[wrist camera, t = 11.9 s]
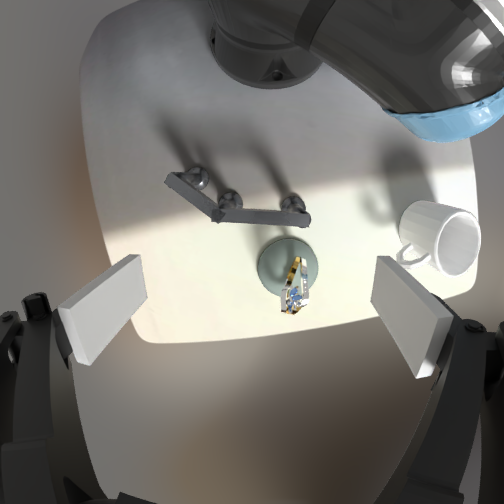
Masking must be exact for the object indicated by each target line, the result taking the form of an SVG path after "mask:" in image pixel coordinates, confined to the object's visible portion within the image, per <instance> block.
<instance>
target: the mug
mask: <svg viewBox="0 0 504 504" xmlns="http://www.w3.org/2000/svg"><path fill="white" fill-rule="evenodd" d="M399 236H400V240H401V243H402V245H403V246H404V247H403V248H402V249H401V250H400V251H399V252H398V253H397V254H396V257H397V263H398V264H399V265H400V266H402V267H403V268H404V269H413V268H416V267H420V266H422V265H423V264H425V263H427V264H428V265H430V266H431V267H433V268H434V269H436V270H437V271H439V272H440V273H442V274H443V275H445V276H447V277H452V278H454V277H458V276H461V275H463V274H464V273H466V272H467V271H468V270H469V269H470V268H471V266H472V265H473V264H474V262H475V260H476V258H477V256H478V253H479V249H480V243H481V233H480V226H479V224H478V222H477V219H476V218H475V217H474V216H473V214H472V213H471V212H468V211H466V210H463V209H459V208H455V207H451V206H447V205H443V204H439V203H435V202H430V201H426V200H422V201H416V202H414V203H412V204H411V205H410V206H409V207H408V208H407V209H406V210H405V211H404V213H403V215H402V217H401V220H400V224H399ZM408 252H410V253H411V254H412V255H414V256H416V257H417V258H418V259H415V260H413V261H406V260H404V256H405V255H406V254H407V253H408Z"/></svg>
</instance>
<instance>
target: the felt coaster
mask: <svg viewBox="0 0 504 504" xmlns="http://www.w3.org/2000/svg"><path fill="white" fill-rule="evenodd" d="M296 256H299V257H302V258H305V260H306V265H307V276H308V289H309V288H310V287H311V286H312V285H313V284H314V282H315V280H316V278H317V275H318V261H317V258H316V256H315V254H314V252H313V251H312V250H311V248H310V247H309V246H308V245H306V244H305V243H303V242H301V241H298V240H294V239H284V240H279V241H277V242H274V243H273V244H271V245H270V246H269V247H267V248H266V249H265V251H264V252H263V253H262V255H261V257H260V260H259V265H258V274H259V278H260V280H261V282H262V284H263V286H264V287H265V288H266V289H267V290H268V291H269V292H271V293H273V294H275V295H277V296H281V291H282V289H283V286H284V283H285V279H286V275H287V272H288V271H289V269H290V267H291V264H292V262H293V260H294V258H295V257H296ZM292 285H293V287H296V286H299V288H300V290H299V291H298V292H297V293H299V294H302V288H301V275H300V264H299V266H298V268H297V271H296V273H295V276H294V279H293V283H292ZM290 290H291V289H289V293H290Z"/></svg>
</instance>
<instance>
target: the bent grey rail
mask: <svg viewBox="0 0 504 504" xmlns="http://www.w3.org/2000/svg"><path fill="white" fill-rule="evenodd" d="M208 182H209V176H208V173H207V172H206V170H204V169H203V168H199V167H195V168H192V169H190V170H189V171H188V172H171V173H170V174H169V175H168V176H167V178H166V180H165V181H164V183H165V184H166V185H168V187H170V188H172V189H173V190H174V191H176V192H177V193H178V194H180V195H181V196H182V197H184V198H185V199H186V200H188V201H189V202H190V203H191V204H193V205H194V206H195V207H197V208H198V209H199V210H201V211H202V212H203V213H205V214H206V215H207V216H209V217H210V218H211V222H216V223H218V224H219V223H220V222H231V223H249V224H267V225H283V226H298V227H300V228H306V227H309V225H310V223H311V216H310V214H309V213H307V212H306V211H305V210H306V207H305V204H304V202H303V201H302V200H301V199H300V198H298V197H295V196H292V197H288V198H287V199H285V200H284V202H283V204H282V211H277V210H261V209H242V207H243V201H242V199H241V197H240V196H239V195H238V194H236V193H227V194H224V195H223V196H222V197H221V198H220V201H219V204H217V203H215V202H214V201H213V200H211V199H210V198H209V197H207V196H206V195H205V194H203V193H202V192H201V191H199V190H202V189H204V188H205V187H206V186H207V184H208Z"/></svg>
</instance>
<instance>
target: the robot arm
mask: <svg viewBox="0 0 504 504" xmlns="http://www.w3.org/2000/svg"><path fill="white" fill-rule="evenodd" d="M208 2H209V5H210V7H211V9H212V12H213V14H214V17H215V21H214V24H213V27H212V31H211V37H210V43H211V49H212V52H213V54H214V57H215V59H216V61H217V63H218V64H219V66H220V67H221V69H222V70H223V71H224V72H225V73H226V74H227V75H229V76H230V77H231V78H233V79H234V80H236V81H238V82H240V83H242V84H245V85H248V86H251V87H255V88H261V89H281V88H287V87H291V86H294V85H297V84H299V83H301V82H303V81H305V80H307V79H308V78H310V77H311V76H312V75H313V74H314V73H315V72H316V71H317V70H318V69H319V67H320V66H321V64H322V62H325V63H326V64H328V65H329V66H331V67H332V68H333V69H335V70H336V71H338V72H339V73H340V74H342V75H343V76H344V77H346V78H347V79H348V80H350V81H351V82H352V83H354V84H355V85H356V86H357V87H359V88H360V89H361V90H362V91H364V92H365V93H366V94H367V95H369V96H370V97H371V98H372V99H373V100H374V101H376V102H377V103H378V104H379V105H380V106H381V107H382V109H383V111H385V112H386V113H387V114H388V115H390V116H392V117H395V118H396V119H397V120H399V121H400V122H401V123H402V124H403V125H404V126H405V127H406V128H408V129H409V130H410V131H411V132H412V133H413V134H414V135H416V136H417V137H419V138H421V139H423V140H426V141H435V142H437V143H447V142H454V141H459V140H462V139H466V138H468V137H471V136H473V135H475V134H477V133H480V132H481V131H483V130H485V129H487V128H488V127H490V126H491V125H493V124H494V123H495V122H496V121H498V120H499V119H500V118H501V117H502V116H503V114H504V0H208ZM146 299H147V292H146V287H145V281H144V275H143V269H142V262H141V256H140V255H134V254H129V255H128V256H126V257H125V258H123V259H122V260H120V261H119V262H117V263H116V264H115V265H113V266H112V267H111V268H109V269H107V270H106V271H105V272H103V273H102V274H100V275H99V276H98V277H96V278H95V279H93V280H92V281H91V282H89V283H88V284H87V285H85V286H84V287H83V288H81V289H80V290H79V291H77V292H76V293H74V294H73V295H72V296H71V297H69V298H68V299H67V300H65V301H64V302H63V303H61V304H60V305H59V306H58V307H57V309H55V310H54V311H53V312H52V311H51V308H50V305H49V302H48V299H47V295H46V294H45V293H42V292H39V293H34V294H31V295H29V296H27V297H25V298H24V299H23V300H22V302H21V303H22V306H23V309H24V312H25V315H26V318H27V321H21V320H20V318H19V315H18V312H16V311H10V312H9V311H7V312H5V313H3V314H2V315H1V316H0V504H156V503H153V502H149V501H146V500H143V499H139V498H136V497H133V496H130V495H127V494H125V493H122V492H120V493H119V495H118V498H117V499H108V498H107V496H106V495H105V494H104V492H103V491H102V489H101V487H100V486H99V483H98V481H97V478H96V475H95V472H94V469H93V466H92V463H91V460H90V456H89V453H88V449H87V446H86V442H85V438H84V434H83V429H82V425H81V421H80V416H79V411H78V406H77V400H76V394H75V387H74V380H73V373H72V364H71V361H70V358H69V355H70V354H71V353H72V352H73V353H74V355H75V358H76V360H77V362H79V363H82V364H86V365H89V366H90V365H91V364H92V363H93V361H94V360H95V359H96V358H97V357H98V355H99V354H100V353H101V352H102V350H103V349H104V348H105V347H106V346H107V344H108V343H109V342H110V341H111V340H112V338H113V337H114V336H115V335H116V334H117V333H118V331H119V330H120V329H121V328H122V327H123V326H124V324H125V323H126V322H127V321H128V320H129V319H130V317H131V316H132V315H133V314H134V313H135V312H136V311H137V309H138V308H139V307H140V306H141V305H142V304H143V303H144V301H145V300H146ZM370 302H371V303H372V305H373V306H374V308H375V309H376V311H377V313H378V314H379V316H380V317H381V319H382V321H383V322H384V324H385V325H386V327H387V329H388V331H389V332H390V334H391V335H392V337H393V339H394V341H395V342H396V344H397V346H398V347H399V349H400V351H401V353H402V354H403V356H404V358H405V360H406V361H407V363H408V365H409V367H410V369H411V370H412V372H413V374H414V376H415V378H420V377H426V376H430V375H432V372H433V370H434V368H435V366H436V363H437V365H438V366H439V368H440V369H441V370H440V372H439V374H438V376H437V378H436V380H435V382H434V385H433V386H432V389H431V390H432V393H431V396H430V398H429V401H428V404H427V406H426V408H425V411H424V413H423V416H422V418H421V420H420V422H419V424H418V427H417V429H416V431H415V433H414V435H413V437H412V439H411V442H410V443H409V445H408V447H407V449H406V451H405V453H404V455H403V457H402V459H401V460H400V462H399V464H398V466H397V468H396V469H395V471H394V473H393V474H392V476H391V478H390V479H389V481H388V482H387V484H386V486H385V487H384V488H383V490H382V492H381V493H380V495H379V496H378V497H377V499H376V500H375V502H374V503H373V504H463V501H464V495H463V494H462V493H459V486H460V483H461V480H462V477H463V475H464V472H465V468H466V466H467V462H468V459H469V456H470V452H471V449H472V445H473V441H474V436H475V433H476V428H477V424H478V419H479V413H480V419H481V449H482V450H481V477H480V490H479V498H478V504H504V321H503V322H501V323H500V325H499V327H498V330H497V332H487V331H486V328H485V327H484V326H483V325H482V324H481V323H479V322H478V321H475V320H471V319H463V320H462V319H461V318H460V317H459V316H458V315H457V314H456V313H455V312H454V311H453V310H452V309H451V308H450V307H449V306H448V305H447V304H445V302H444V301H443V300H442V299H441V298H440V297H438V296H436V295H434V294H432V293H430V292H429V291H428V290H427V289H426V288H425V287H424V286H422V285H421V284H420V283H419V282H418V281H417V280H416V279H415V278H414V277H413V276H412V275H411V274H409V273H408V272H407V271H406V270H405V269H404V268H403V267H402V266H400V265H399V264H398V263H397V262H396V261H395V260H394V259H393V258H391V257H390V256H377V262H376V269H375V277H374V283H373V290H372V296H371V301H370ZM8 350H9V352H10V354H11V356H12V358H13V361H12V363H11V361H10V359H9V356H8Z"/></svg>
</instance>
